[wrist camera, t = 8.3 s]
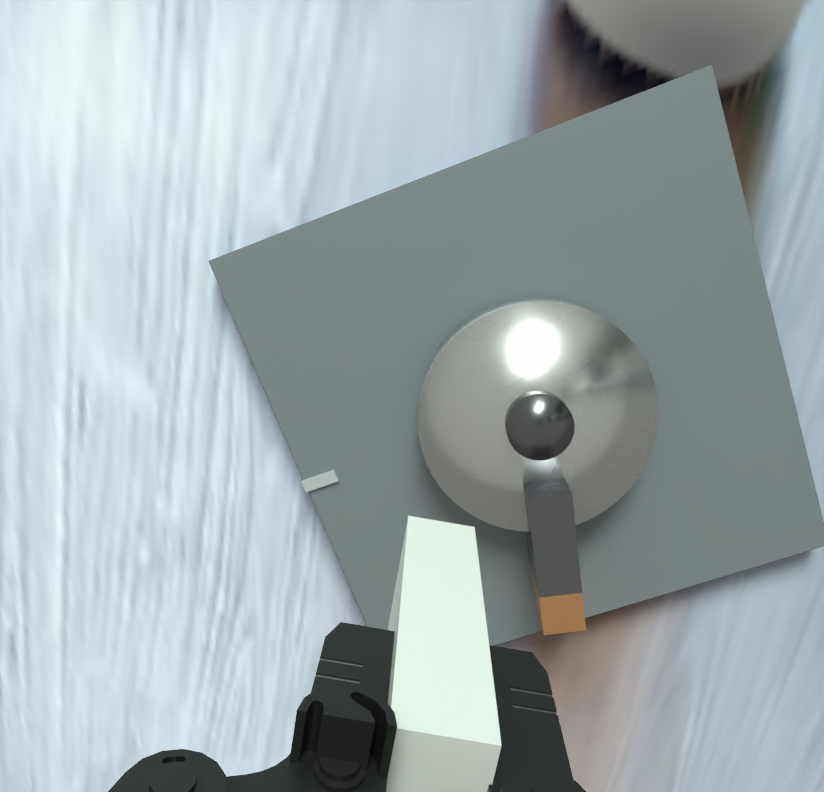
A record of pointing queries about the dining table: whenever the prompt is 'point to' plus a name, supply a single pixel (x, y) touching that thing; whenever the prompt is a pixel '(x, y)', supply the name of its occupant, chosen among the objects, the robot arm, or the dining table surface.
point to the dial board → (557, 278)
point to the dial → (539, 431)
